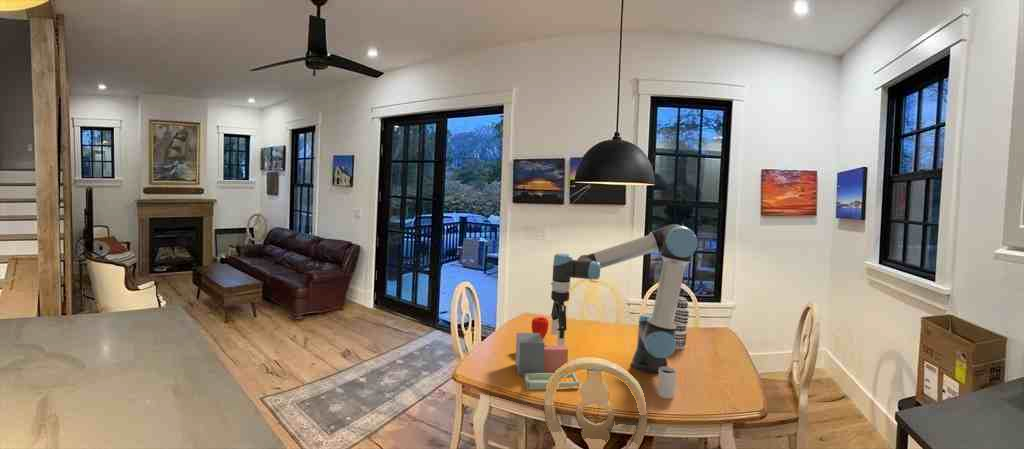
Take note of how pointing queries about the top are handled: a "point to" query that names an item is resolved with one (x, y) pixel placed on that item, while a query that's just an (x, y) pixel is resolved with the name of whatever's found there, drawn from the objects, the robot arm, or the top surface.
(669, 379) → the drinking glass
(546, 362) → the pink rectangular box
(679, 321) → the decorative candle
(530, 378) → the tray
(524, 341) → the dispenser
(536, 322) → the apple
